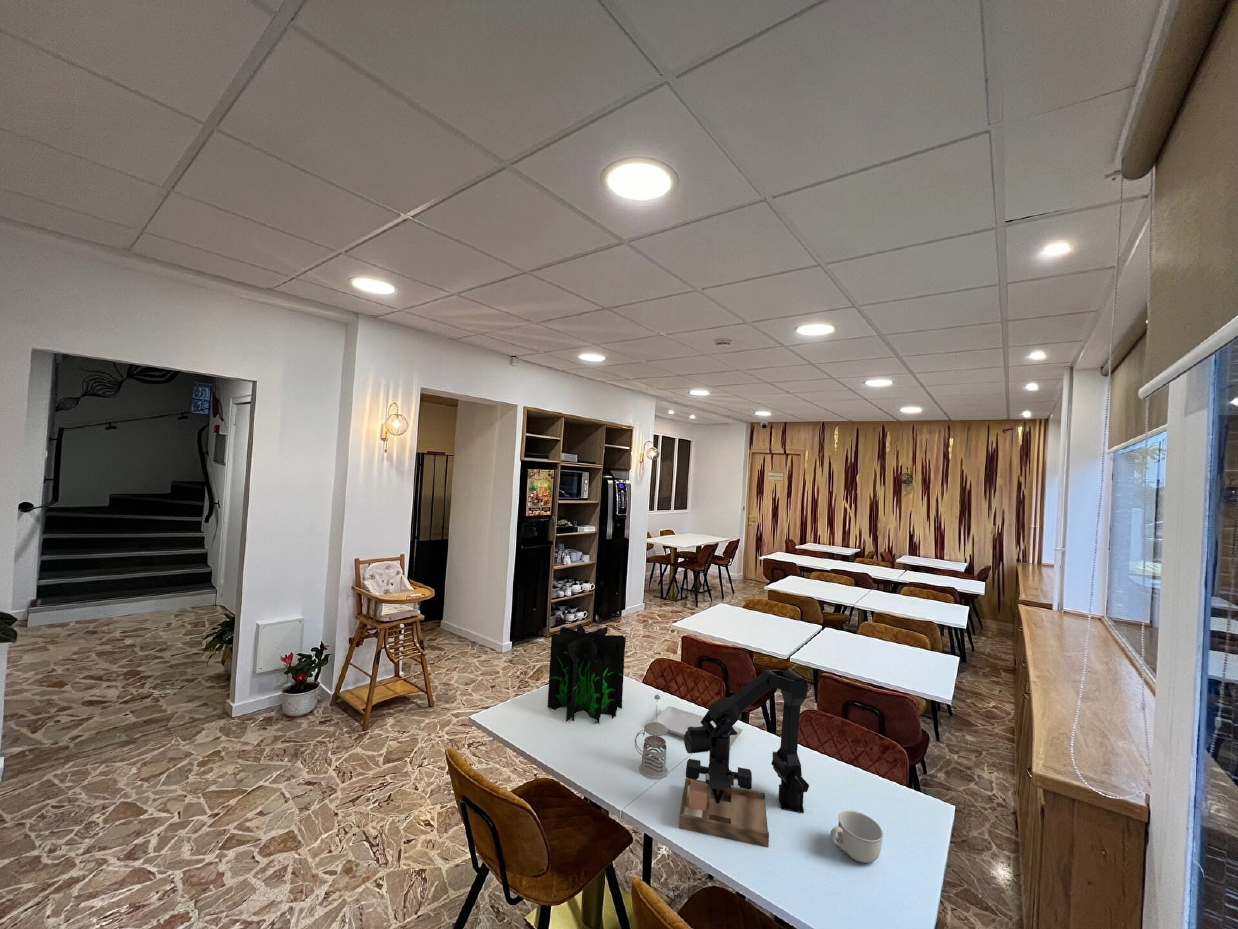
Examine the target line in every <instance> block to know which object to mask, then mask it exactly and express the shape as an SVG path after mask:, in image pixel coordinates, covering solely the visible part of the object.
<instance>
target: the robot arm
mask: <svg viewBox="0 0 1238 929" xmlns="http://www.w3.org/2000/svg"><path fill="white" fill-rule="evenodd" d="M773 689H778V690H780V692H781V695H782V699H783V710H782V722H781V734H780V747H779V749H778V750H777V751H772V755H771V756H772V761H771V765H772V769H773V770H774V771H775V773H776V774H777V777H778V778H780V783H779V784H778V795H777V796H778V802H779V803H780V808H781V810H787V811H791V812H797V813H802V814H803V813H805V809H804V796H805V795H804V794H805V793H807V792H808V791H809V788H810V783H808V782H807V781H806V780H805V778H804V777H803V774H802V771H803V770H802V764H801V760H800V757H799V754H798V747H799V746H798V745H799V735H800V734H799V733H800V732H799V731H800V722H801V721H800V719H801V718H800V717H801V707H802V704H803V703H804V702H805V700H807V696H808V691H809V682H808V681H807V680H806V679H805V678H804V677H802V676H801V675H800V674H798V673H797V672H795V671H793V670H792V669H786V670H779V669H772V670H771V669H763V670H761V672H760V674H759V675H757V676H756V677H755V678H753V679H752V680H751V681H749V682H748V683H746V685H744V686H742V687H741V688H740V689H738V690H737V691H736V692H735V693H734V694H732V695H730V696H727V697H723V698H722V697H721V698H720V699H718V700H716V701H714V702H712V703H711V704H710V705H709V707H708V710H707V712H706V713H705V714H704V716H703V717H704V718H703V719H702V721H701V724H702V725H703V726H701V727H688V731H686V732H685V735H684V737H683V742H684V743H683V744H684V748H685V751H686V753H687V754H689V755H690V754H698V753H708V752H709V755H708V756H709V757H708V758H709V759H708V766H703V765H702V762H701V760H699V759H694V758H689V759H687V761H686V767H685V778H690V779H695V780H699V779H700V774H702V775H704V776H705V780H704V781H705V783H706V784H709V787H710V788H711V789H712V791H713V794H714V798H715V802H716V803H717V804H719V802H720V800H721V797H722V795H723V792H724V791H725V790H726V789H727V788H731V786H732V787H735V784H734V781H737V786H738V788H742V789H747V790H752V789H753V787H752V786H753V777H752V776H753V774H752V771H751V769H749V768H744V767H739V766H738V767H737V771H732V769H730V735H737V732H736V731H735V730H734V729H733V727H732V726H735V724H736V723H738V721H739V719H740V716H741V715H742V713H743V712H744V711H745V710H746V709H748V707H750V706H751V705H753V704H755V702H757V701H758V700H759V699H760V698H762V697H763V696H764V695H766V694H767V693H768V692H770V691H771V690H773ZM711 721H713V722H714V723H715V724H716V727H715V728H714V726H713V725H712V724H711V723H710V722H711ZM717 789H719V791H717Z"/></svg>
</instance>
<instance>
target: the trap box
mask: <svg viewBox="0 0 1238 929" xmlns="http://www.w3.org/2000/svg"><path fill="white" fill-rule="evenodd" d="M691 780H693V781H699V782H704V783H705V780H699V779H696V780H695V779H690V778H687V777H685V780H684V781H685V782H684V787H683V792H682V798H681V805H680V809H679V810H680V811H679V822H678V829H681V830H685V831H690V832H695V833H698V832H699V833H700V834H703V835H708V836H713V837H718V838H722V839H725V840H726V839H728V840H731V841H735V842H740V843H746V844H750V845H755V846H759V847H763V848H769V846H770V845H769V843H770V842H769V841H770V831H769V828H768V819H767V818H768V817H767V808H766V806H767V805H766V792H762V791H757V790H752V789H750V790H749V789H744V788H740V787H735V786H731V788H727V789H726V790H725V791H724V792H723V795H722V797H721V800H720V802H719V804H717V803H716V802H715V798H714V794H713V791H712V789H711V788H710V787H709V784H708V787H707V804H706V811H703V810H698V809H693V808H689V789H690V782H691ZM717 791H719V789H717Z"/></svg>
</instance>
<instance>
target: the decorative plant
mask: <svg viewBox="0 0 1238 929" xmlns="http://www.w3.org/2000/svg"><path fill="white" fill-rule="evenodd" d="M576 626H577V627H576V630H575V629H573V628H569V627H566V626H560V627H559V633H553V634H552V633H551V638H550V640H551V641H550V655H549V670H548V671H549V674H548V688H547V689H548V691H547V708H549V709H551V710H553V711H556V710H558V709H561V708H565V709H566V711H565V723H567V722H569V721H570V720H572V721H575V715H576V714H577V713H578V712H584V713H585V714H587V715H588V717H589V718H590V719H593V720H596V721H595V722H594V724H596V723H598V724H600V722H601V721H600V718H601V715H608V716H611V719H612V720H613V719H614V718H616V717H617V711H618V709H621V710H622V709H623V694H624V692H623V690H624V673H625V671H624V670H625V655H626V654H625V653H626V651H625V650H626V644H627V643H626V641H627V638H626V636H624V635H618V634H617V635H616V634H615V635H614V634H611V635H610V634H608V626H604V627H603V628H602V627H600V628H597V629H596V630H592V631H588V632H586V629H585V628H584V626H583V625H582V624H581V623H580V624H578V623H577V624H576ZM607 634H608V635H607Z"/></svg>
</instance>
